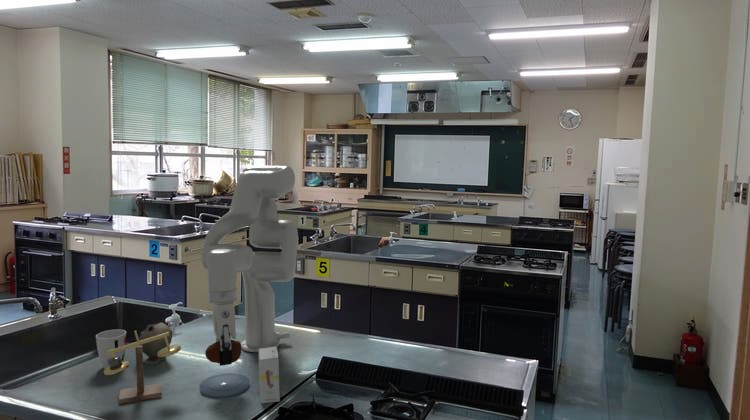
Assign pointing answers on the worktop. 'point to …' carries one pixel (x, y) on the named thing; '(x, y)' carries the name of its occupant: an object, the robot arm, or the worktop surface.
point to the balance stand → (140, 384)
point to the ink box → (269, 375)
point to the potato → (214, 349)
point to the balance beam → (116, 362)
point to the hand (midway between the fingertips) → (223, 359)
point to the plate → (224, 385)
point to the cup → (110, 344)
